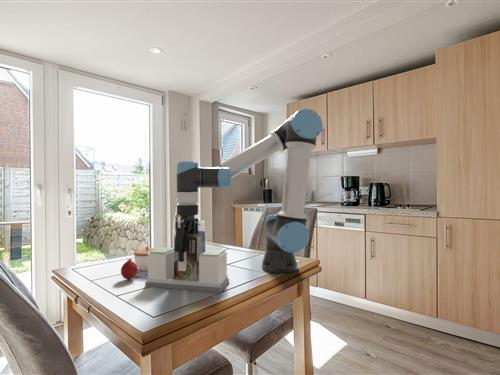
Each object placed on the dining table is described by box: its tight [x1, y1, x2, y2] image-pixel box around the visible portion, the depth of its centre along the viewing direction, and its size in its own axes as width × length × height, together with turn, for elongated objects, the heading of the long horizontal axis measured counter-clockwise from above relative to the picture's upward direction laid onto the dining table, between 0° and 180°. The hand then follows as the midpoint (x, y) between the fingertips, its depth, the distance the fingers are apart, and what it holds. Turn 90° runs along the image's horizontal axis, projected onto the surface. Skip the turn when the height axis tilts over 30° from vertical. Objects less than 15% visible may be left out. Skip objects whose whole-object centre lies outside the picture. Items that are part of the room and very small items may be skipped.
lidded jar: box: [133, 246, 157, 272], centre depth 121 cm, size 11×11×9 cm
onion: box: [120, 258, 139, 281], centre depth 106 cm, size 6×6×8 cm
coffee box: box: [173, 233, 204, 281], centre depth 101 cm, size 9×6×16 cm
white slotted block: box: [144, 246, 230, 293], centre depth 101 cm, size 28×10×12 cm, turn 77°
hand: (187, 267), depth 101 cm, fingers open, 8 cm apart
